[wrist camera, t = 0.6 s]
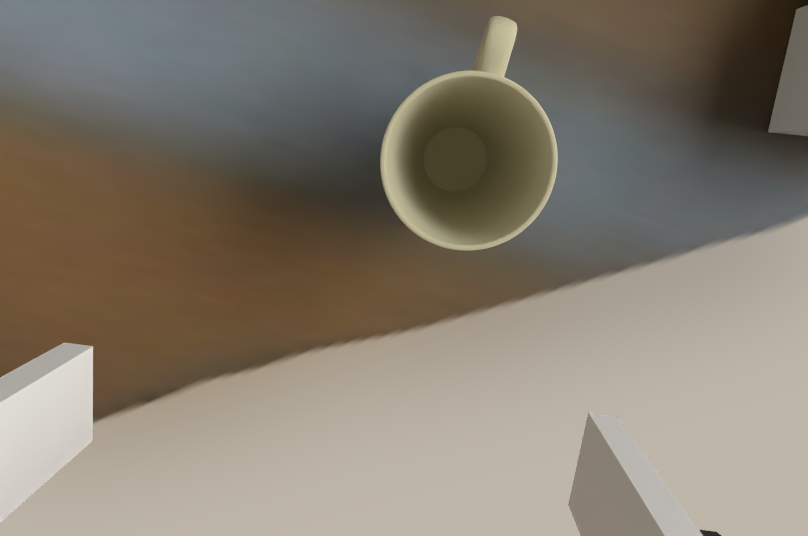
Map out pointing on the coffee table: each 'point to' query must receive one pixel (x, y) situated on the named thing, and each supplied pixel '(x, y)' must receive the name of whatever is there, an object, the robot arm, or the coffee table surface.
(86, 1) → the coffee table surface
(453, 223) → the mug
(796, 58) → the sleeve
